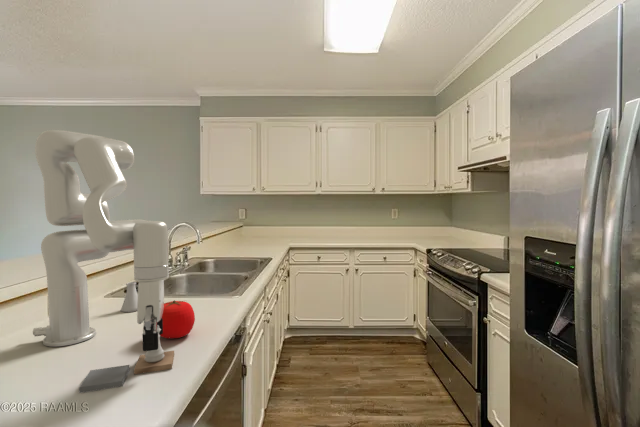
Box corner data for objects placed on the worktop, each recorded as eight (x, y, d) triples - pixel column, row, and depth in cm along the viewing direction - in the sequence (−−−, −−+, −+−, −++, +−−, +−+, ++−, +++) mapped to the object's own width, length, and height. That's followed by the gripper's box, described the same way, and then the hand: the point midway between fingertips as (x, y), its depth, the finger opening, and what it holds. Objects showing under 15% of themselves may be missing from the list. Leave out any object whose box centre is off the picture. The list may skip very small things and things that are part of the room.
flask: (134, 313, 128) (133, 285, 128) (116, 312, 129) (115, 285, 129) (147, 307, 135) (146, 280, 135) (130, 306, 137) (129, 280, 136)
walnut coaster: (134, 374, 82) (134, 369, 82) (140, 359, 90) (139, 355, 90) (171, 368, 85) (171, 363, 85) (174, 355, 92) (174, 350, 92)
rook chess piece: (168, 358, 88) (166, 326, 87) (149, 365, 84) (148, 331, 84) (159, 353, 90) (158, 322, 90) (141, 359, 87) (140, 327, 87)
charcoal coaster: (79, 393, 75) (78, 387, 75) (90, 375, 82) (90, 370, 82) (122, 386, 77) (122, 380, 77) (129, 369, 85) (129, 364, 85)
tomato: (203, 331, 109) (202, 297, 109) (178, 346, 98) (177, 308, 98) (171, 327, 113) (169, 294, 112) (142, 342, 101) (141, 305, 101)
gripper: (140, 266, 94) (142, 331, 94) (127, 281, 77) (129, 359, 78) (171, 265, 96) (173, 327, 97) (164, 279, 79) (166, 354, 80)
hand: (153, 341), depth 87 cm, fingers open, 9 cm apart
